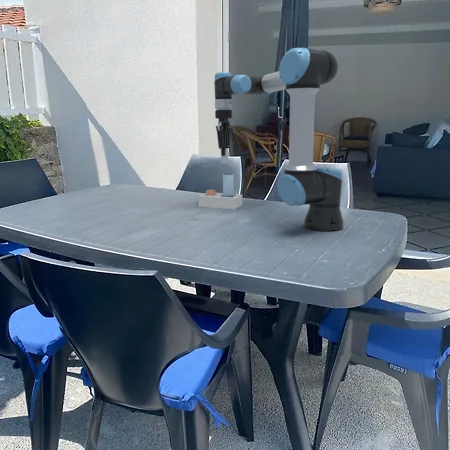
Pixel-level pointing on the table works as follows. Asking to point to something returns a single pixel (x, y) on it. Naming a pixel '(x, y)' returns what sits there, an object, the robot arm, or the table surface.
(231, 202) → the housing
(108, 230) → the table surface
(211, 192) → the plunger
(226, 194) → the cartridge
